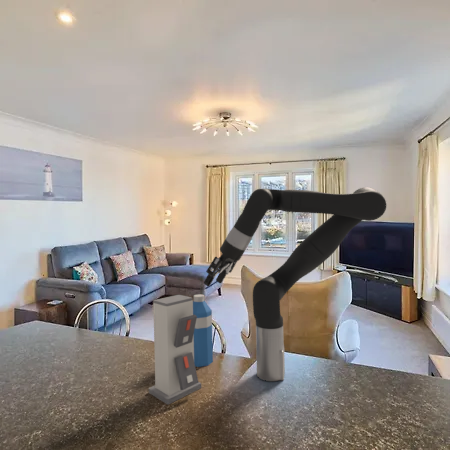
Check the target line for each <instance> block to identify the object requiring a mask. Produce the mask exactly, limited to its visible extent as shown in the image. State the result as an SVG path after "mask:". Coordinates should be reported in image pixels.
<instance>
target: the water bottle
mask: <svg viewBox="0 0 450 450" xmlns="http://www.w3.org/2000/svg"><path fill="white" fill-rule="evenodd" d="M212 311H213V310H212V309H211V307H210V306H209V304H208V302H206V299H205V295H204V294H200V293H199V294H194V295H193V315H196V316H197V319H196V324H195V329H194V363H195V368H196V367H197V368H201V367H208V366H210V365H211V364H212V363H213V362H214V358H213V357H214V355H213V352H214V351H213V348H214V347H213V314H212V313H213V312H212Z"/></svg>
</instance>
